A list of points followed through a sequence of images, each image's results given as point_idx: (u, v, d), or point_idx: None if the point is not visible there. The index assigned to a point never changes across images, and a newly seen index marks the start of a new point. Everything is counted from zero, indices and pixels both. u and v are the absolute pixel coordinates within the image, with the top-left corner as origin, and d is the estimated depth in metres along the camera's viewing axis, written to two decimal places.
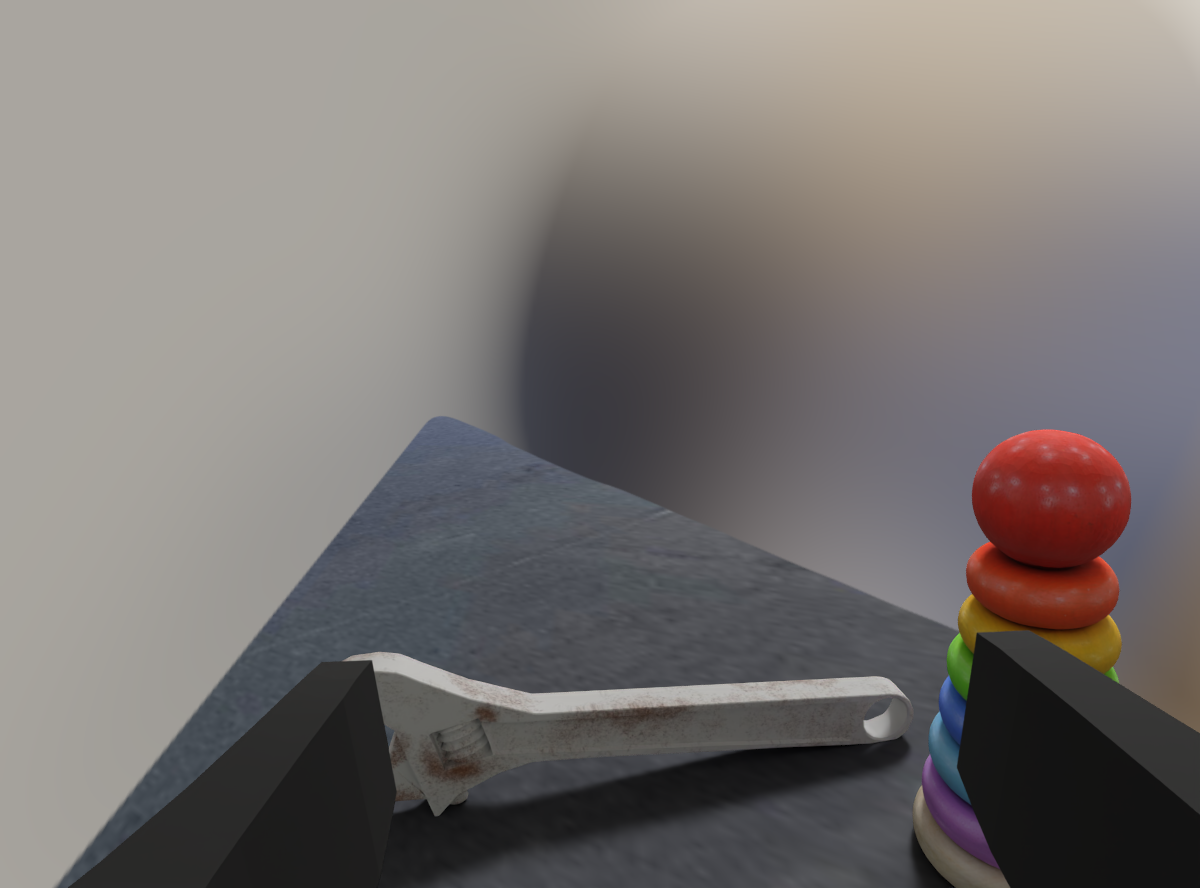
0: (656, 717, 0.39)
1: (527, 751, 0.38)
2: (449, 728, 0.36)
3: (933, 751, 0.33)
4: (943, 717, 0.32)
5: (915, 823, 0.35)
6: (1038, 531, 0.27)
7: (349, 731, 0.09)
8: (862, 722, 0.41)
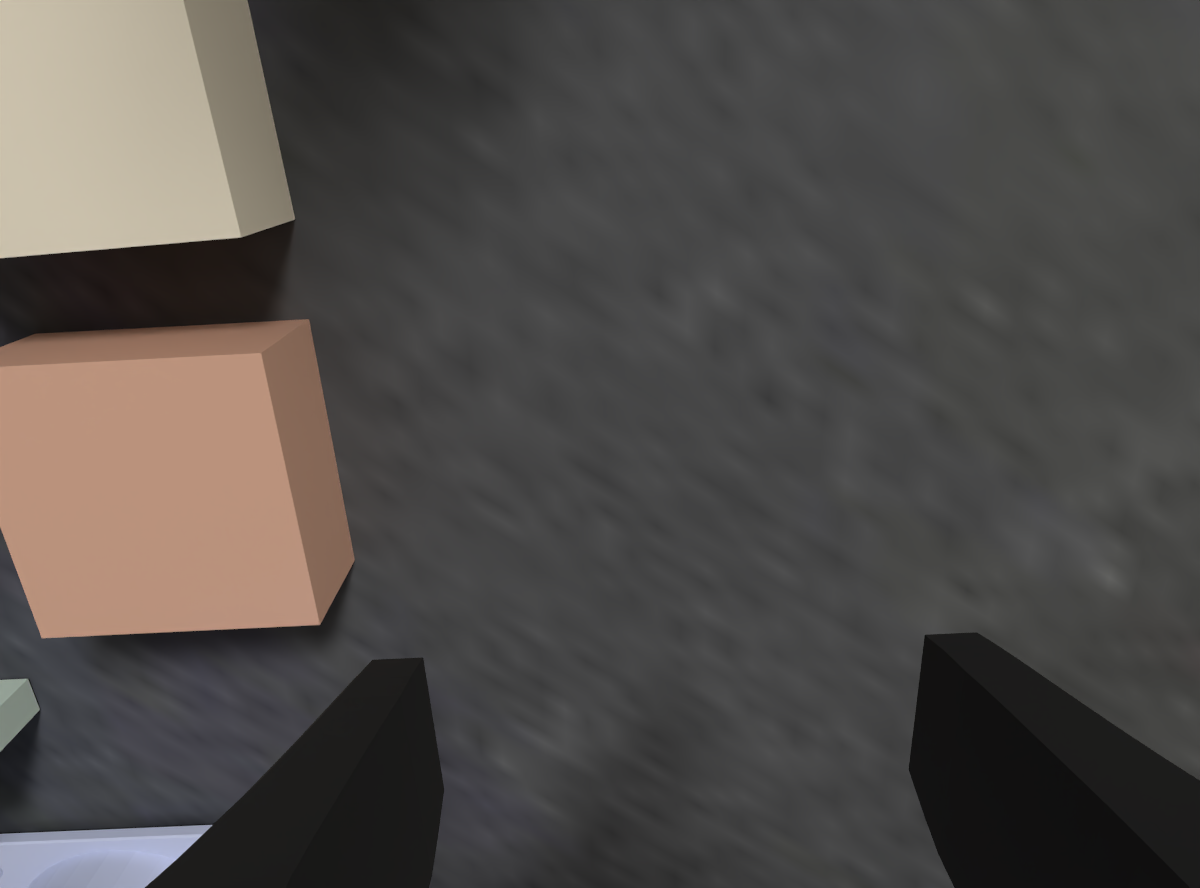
0: None
1: None
2: None
3: None
4: None
5: None
6: None
7: (405, 729, 0.09)
8: None
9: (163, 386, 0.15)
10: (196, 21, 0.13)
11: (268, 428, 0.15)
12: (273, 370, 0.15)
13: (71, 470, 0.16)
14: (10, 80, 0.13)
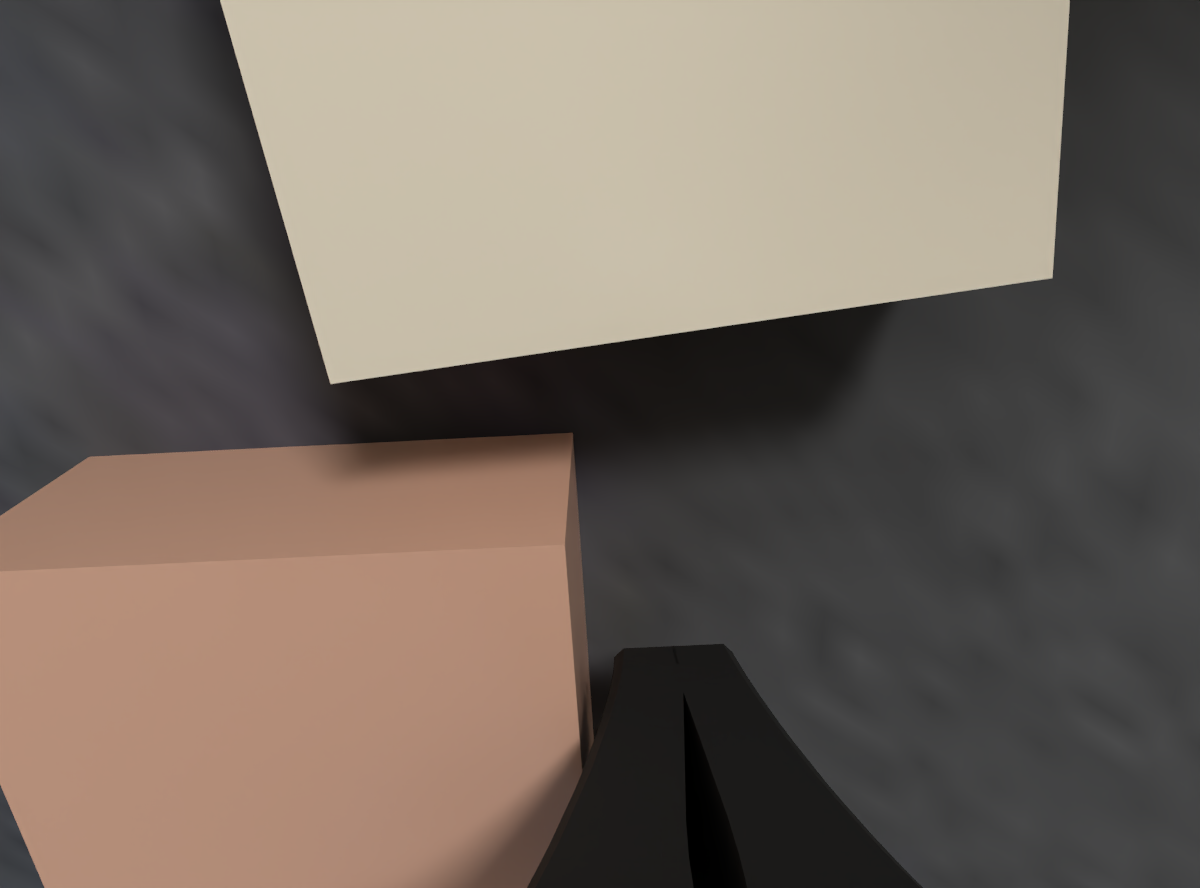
0: None
1: None
2: None
3: None
4: None
5: None
6: None
7: None
8: None
9: (359, 605, 0.08)
10: None
11: (558, 679, 0.08)
12: (569, 564, 0.08)
13: (165, 752, 0.08)
14: None
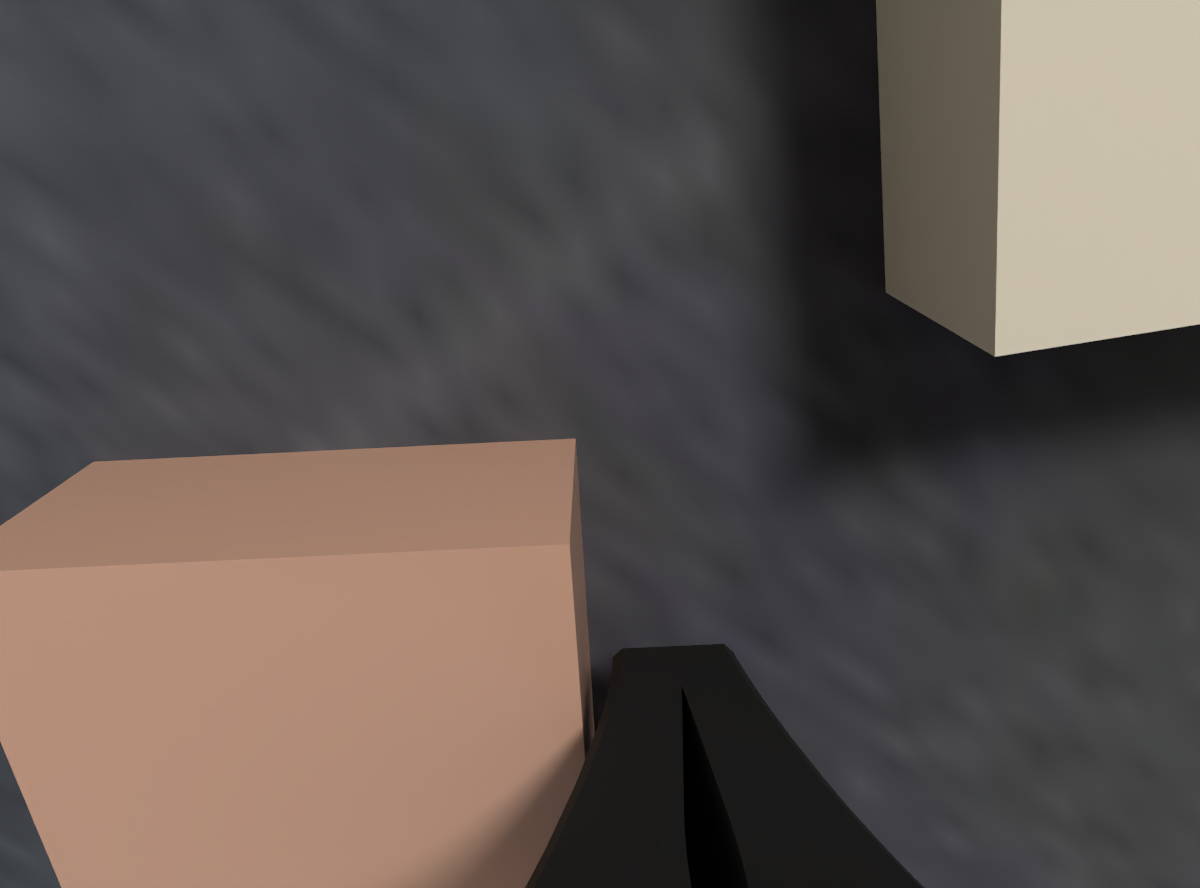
0: None
1: None
2: None
3: None
4: None
5: None
6: None
7: None
8: None
9: (368, 604, 0.08)
10: None
11: (563, 676, 0.08)
12: (573, 563, 0.08)
13: (177, 746, 0.08)
14: None
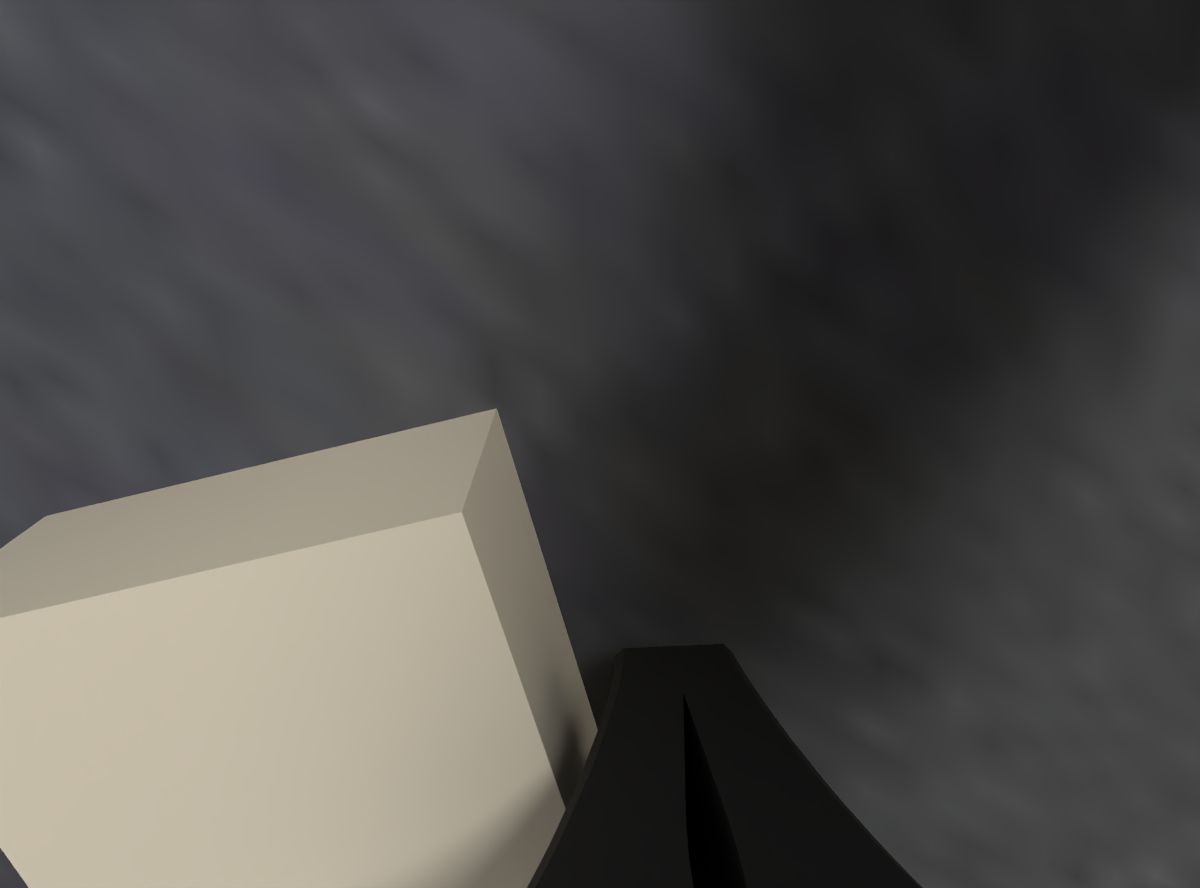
0: None
1: None
2: None
3: None
4: None
5: None
6: None
7: None
8: None
9: None
10: (541, 713, 0.08)
11: None
12: None
13: None
14: (271, 837, 0.09)
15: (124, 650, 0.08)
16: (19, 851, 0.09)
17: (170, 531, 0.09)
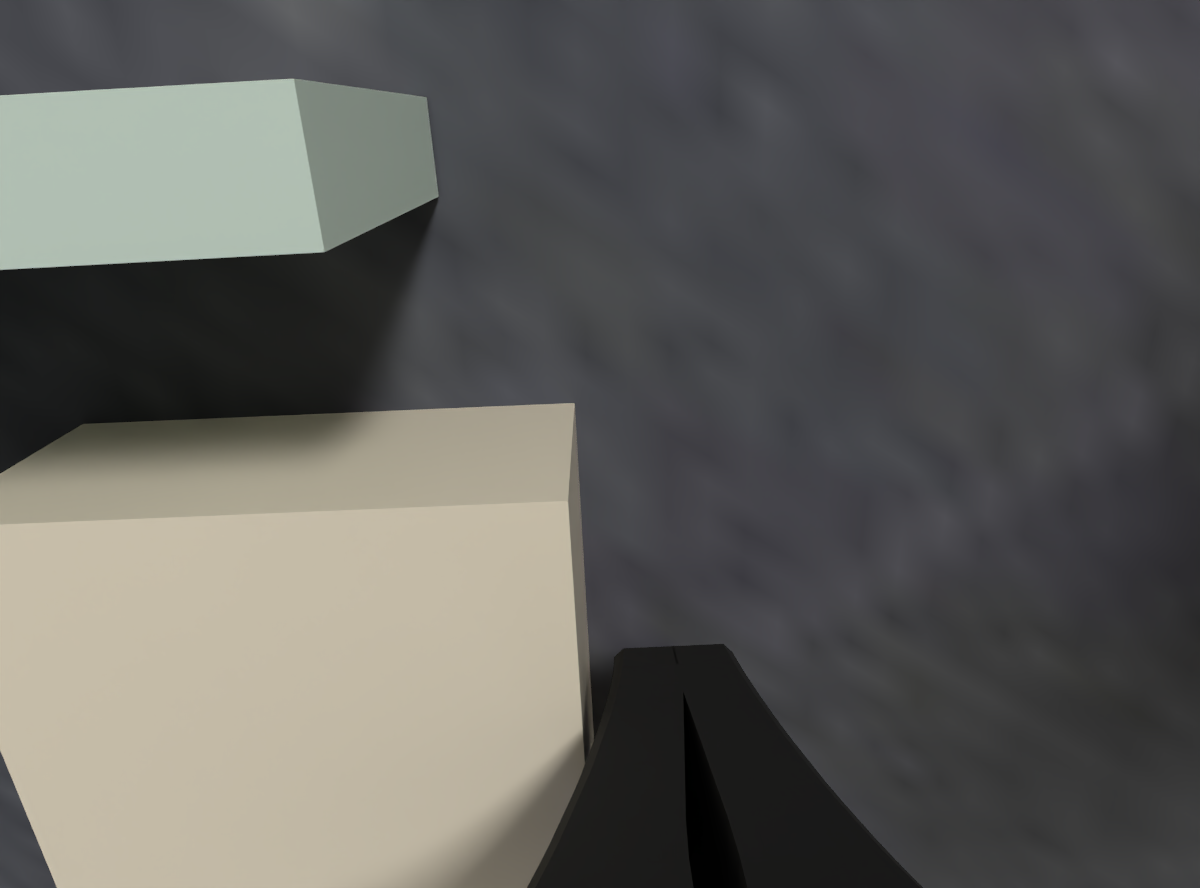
0: None
1: None
2: None
3: None
4: None
5: None
6: None
7: None
8: None
9: None
10: (582, 707, 0.09)
11: None
12: None
13: None
14: (288, 787, 0.08)
15: (191, 576, 0.08)
16: (21, 761, 0.08)
17: (242, 463, 0.08)
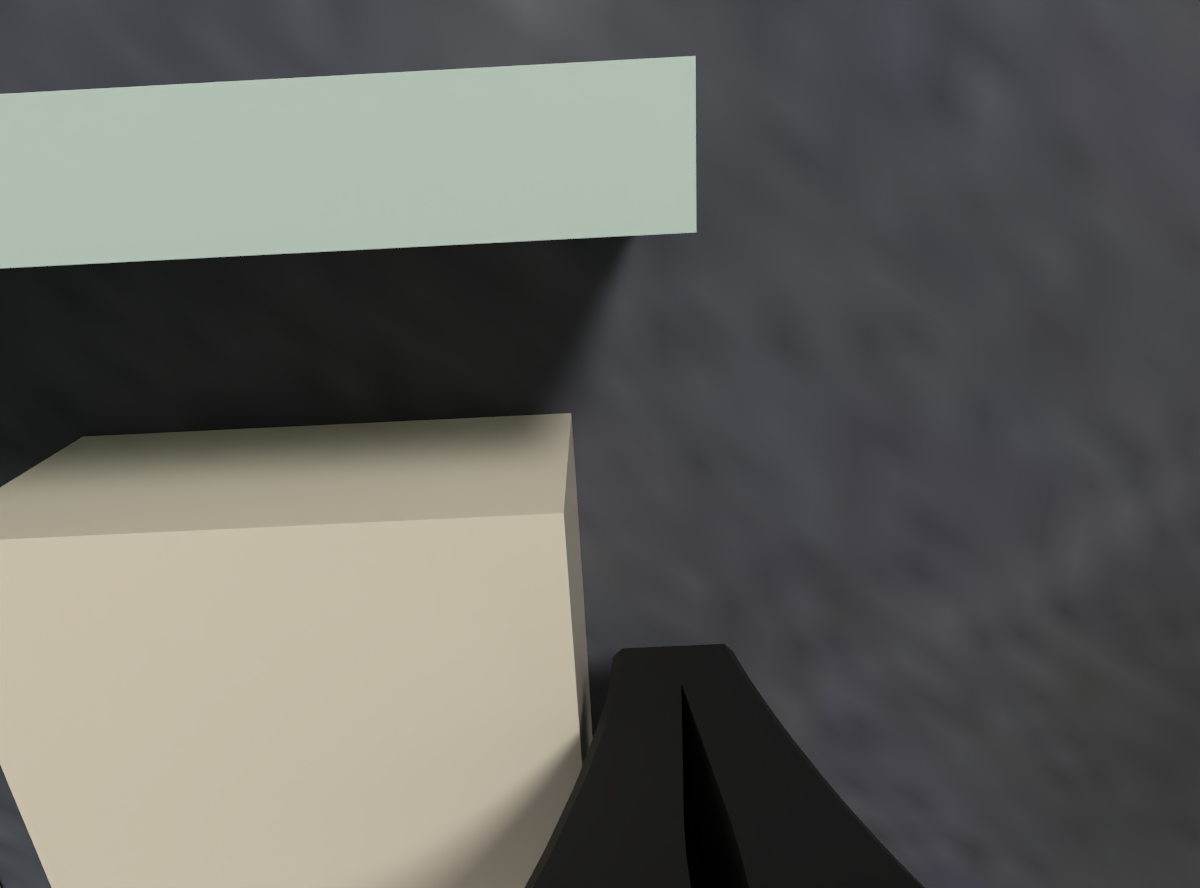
0: None
1: None
2: None
3: None
4: None
5: None
6: None
7: None
8: None
9: None
10: (581, 718, 0.09)
11: None
12: None
13: None
14: (287, 799, 0.09)
15: (189, 588, 0.08)
16: (19, 775, 0.08)
17: (240, 476, 0.08)
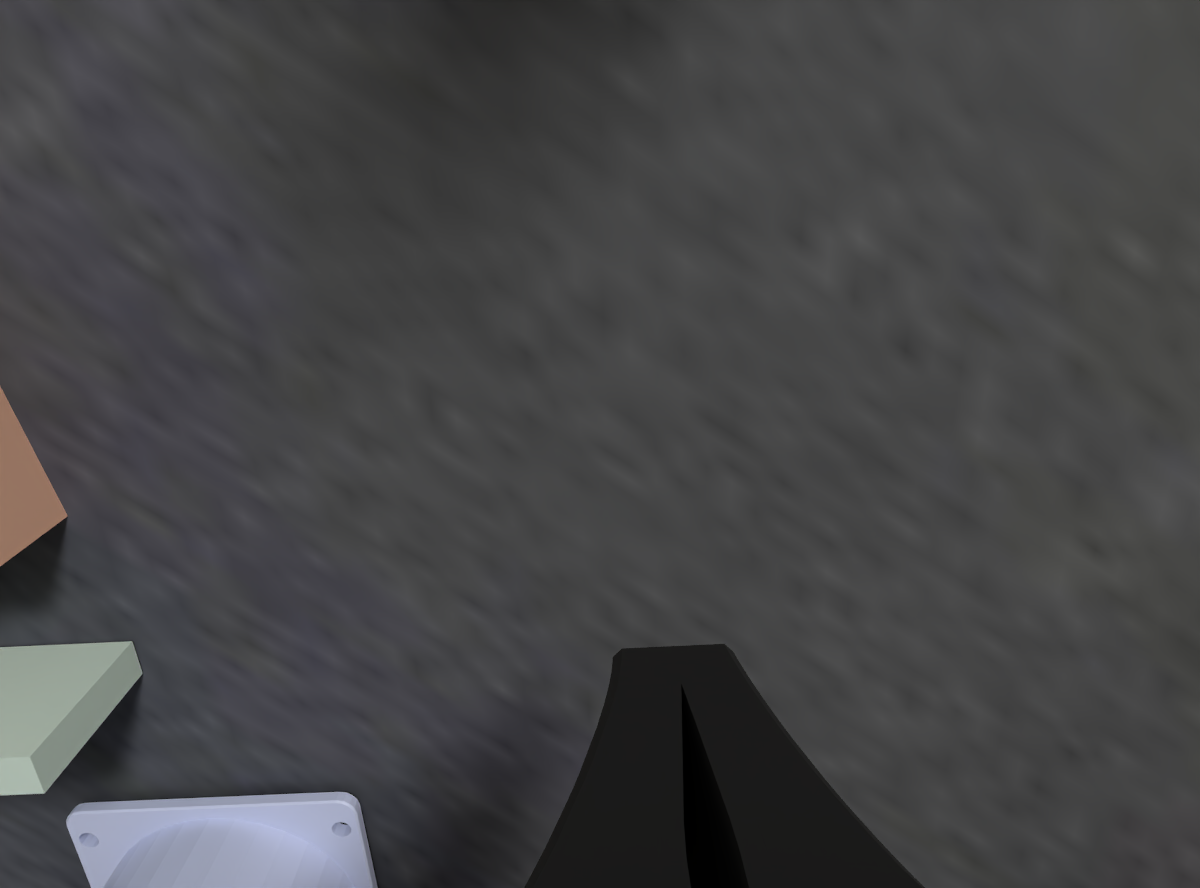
0: None
1: None
2: None
3: None
4: None
5: None
6: None
7: None
8: None
9: None
10: None
11: None
12: None
13: None
14: None
15: None
16: None
17: None
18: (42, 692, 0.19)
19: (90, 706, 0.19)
